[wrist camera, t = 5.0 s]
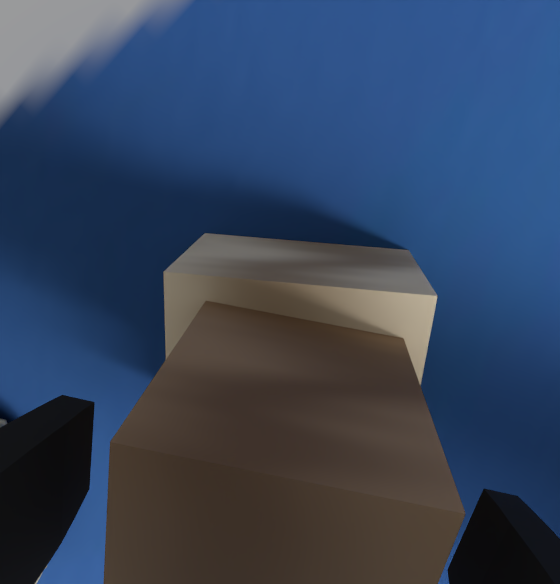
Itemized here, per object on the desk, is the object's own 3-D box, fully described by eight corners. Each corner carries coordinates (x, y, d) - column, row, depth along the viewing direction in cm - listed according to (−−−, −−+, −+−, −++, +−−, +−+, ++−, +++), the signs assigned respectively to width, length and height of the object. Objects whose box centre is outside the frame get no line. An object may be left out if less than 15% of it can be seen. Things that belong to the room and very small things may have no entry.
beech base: (407, 248, 14) (437, 296, 10) (379, 420, 16) (395, 512, 12) (206, 231, 14) (163, 271, 10) (205, 401, 16) (169, 485, 13)
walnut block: (403, 338, 10) (465, 513, 6) (358, 494, 12) (378, 730, 7) (205, 300, 11) (109, 441, 6) (187, 459, 12) (100, 670, 7)
